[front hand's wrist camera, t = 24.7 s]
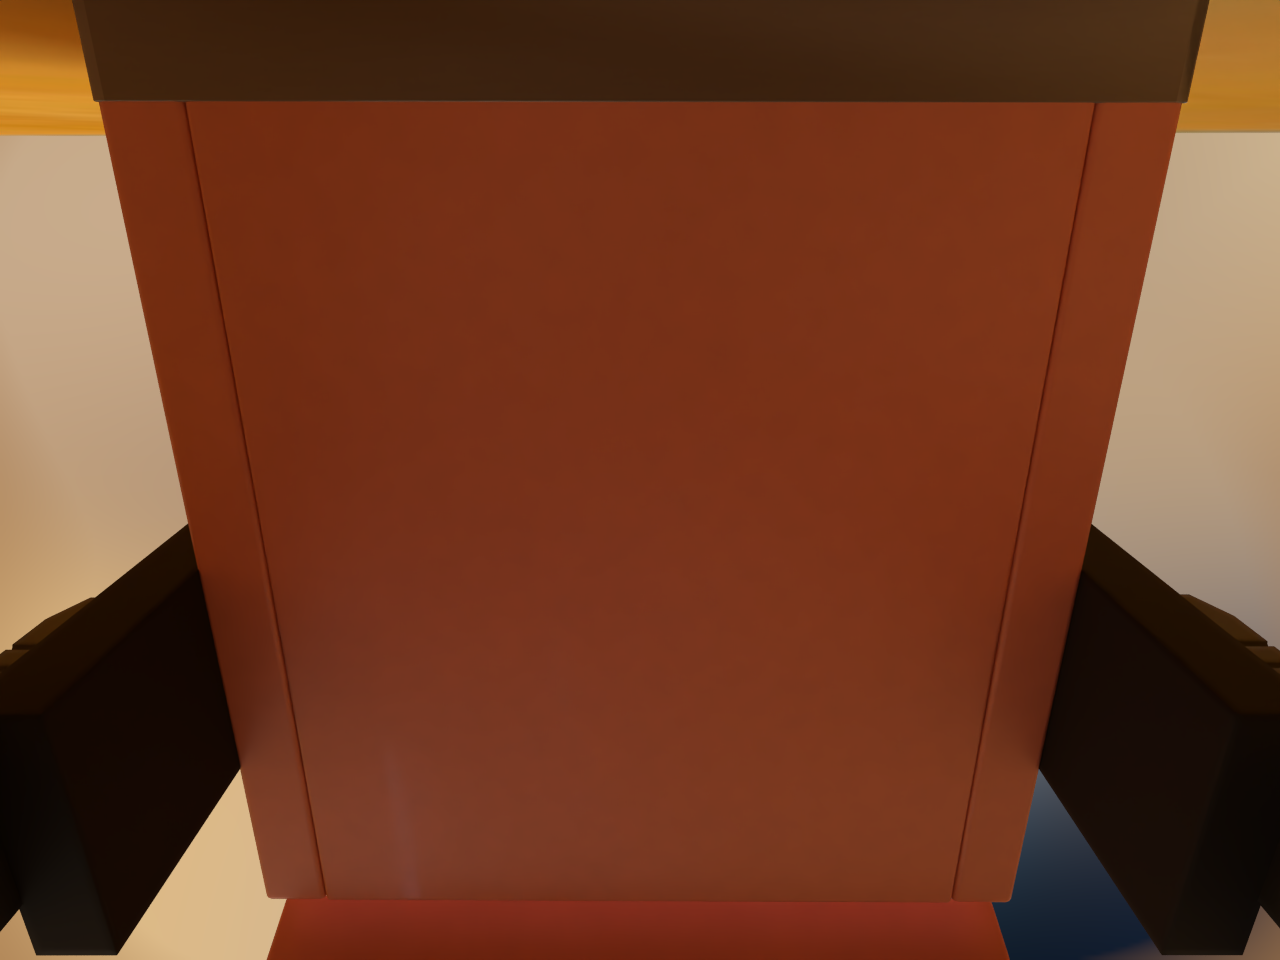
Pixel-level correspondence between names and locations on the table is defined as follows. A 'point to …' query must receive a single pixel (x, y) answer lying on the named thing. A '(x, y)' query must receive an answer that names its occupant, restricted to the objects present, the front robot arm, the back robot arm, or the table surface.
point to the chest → (640, 419)
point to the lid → (635, 930)
